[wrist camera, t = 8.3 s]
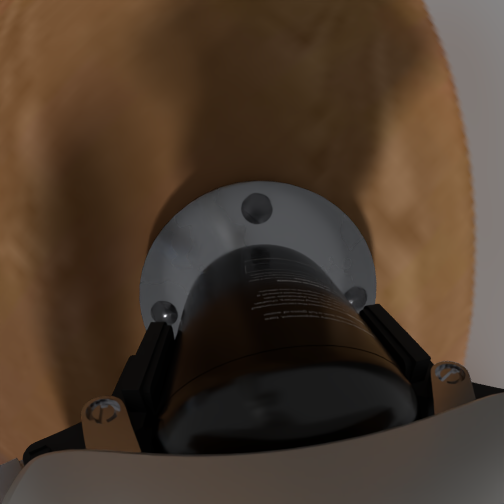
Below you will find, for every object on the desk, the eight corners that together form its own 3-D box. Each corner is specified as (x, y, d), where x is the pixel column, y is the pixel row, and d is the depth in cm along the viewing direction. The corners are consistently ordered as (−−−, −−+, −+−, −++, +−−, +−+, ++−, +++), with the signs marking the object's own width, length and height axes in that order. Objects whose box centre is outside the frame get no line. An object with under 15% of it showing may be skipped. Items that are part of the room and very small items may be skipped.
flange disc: (131, 190, 14) (123, 192, 13) (370, 178, 15) (381, 179, 14) (166, 390, 18) (163, 402, 16) (356, 374, 18) (363, 385, 17)
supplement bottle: (156, 312, 14) (58, 570, 2) (264, 207, 13) (454, 463, 1) (257, 394, 15) (288, 613, 4) (360, 311, 14) (510, 513, 3)
